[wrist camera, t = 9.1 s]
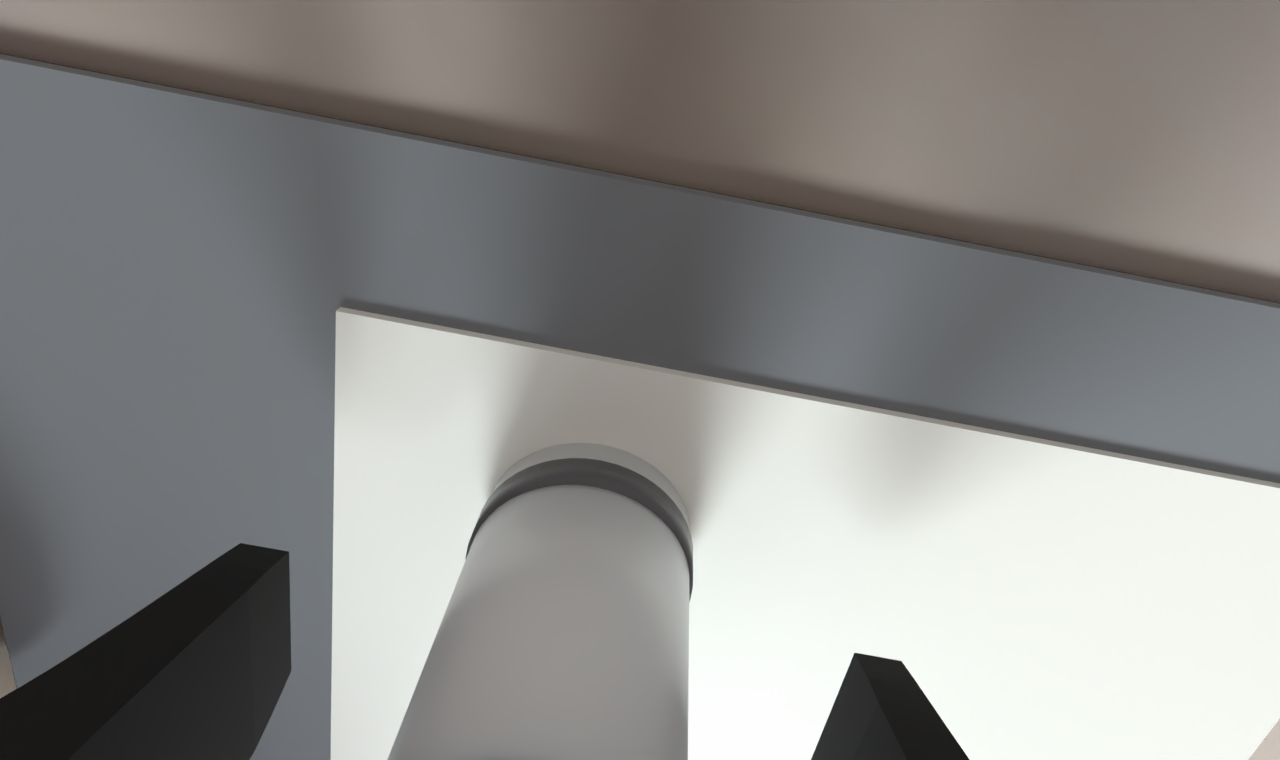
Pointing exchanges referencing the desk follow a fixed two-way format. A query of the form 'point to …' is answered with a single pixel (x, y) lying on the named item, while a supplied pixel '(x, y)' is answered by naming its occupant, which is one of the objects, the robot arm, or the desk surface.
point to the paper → (819, 554)
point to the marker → (564, 620)
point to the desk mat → (484, 303)
